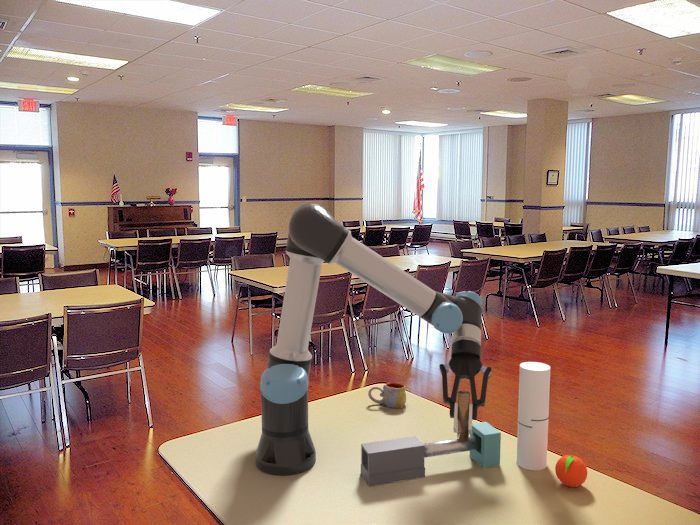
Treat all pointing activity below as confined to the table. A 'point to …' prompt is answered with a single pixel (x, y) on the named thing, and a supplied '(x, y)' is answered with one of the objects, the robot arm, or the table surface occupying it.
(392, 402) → the mug
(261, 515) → the table surface
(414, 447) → the outer sleeve
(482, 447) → the end socket
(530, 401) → the cylindrical container
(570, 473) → the clementine
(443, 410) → the table surface
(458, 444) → the sliding bolt
